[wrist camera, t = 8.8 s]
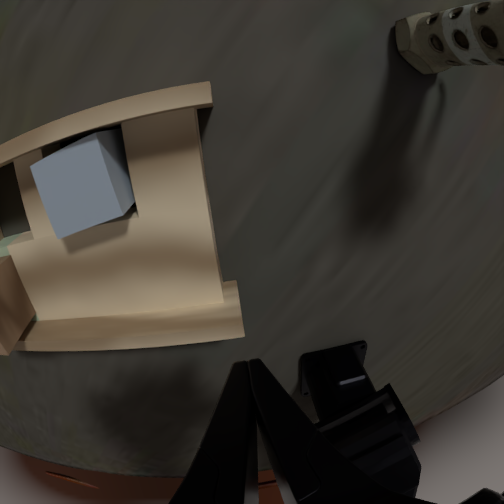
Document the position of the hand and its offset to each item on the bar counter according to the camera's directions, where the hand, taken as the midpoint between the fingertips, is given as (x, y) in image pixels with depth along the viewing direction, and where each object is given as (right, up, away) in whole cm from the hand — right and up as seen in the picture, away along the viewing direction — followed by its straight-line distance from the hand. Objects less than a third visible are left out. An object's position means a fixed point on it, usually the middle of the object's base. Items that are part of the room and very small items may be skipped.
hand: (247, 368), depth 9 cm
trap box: (-12, +5, +9) cm, 16 cm away
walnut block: (-19, +1, +8) cm, 21 cm away
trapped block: (-10, +9, +8) cm, 15 cm away
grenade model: (+13, +18, +7) cm, 23 cm away
